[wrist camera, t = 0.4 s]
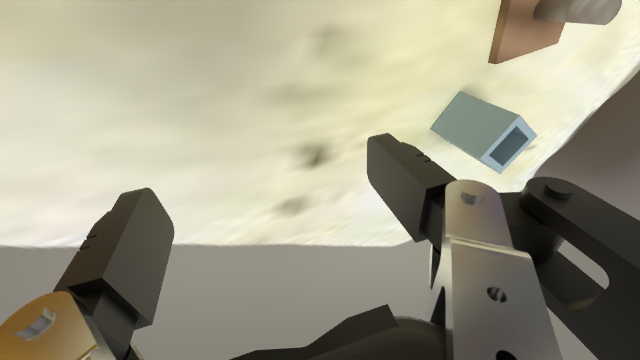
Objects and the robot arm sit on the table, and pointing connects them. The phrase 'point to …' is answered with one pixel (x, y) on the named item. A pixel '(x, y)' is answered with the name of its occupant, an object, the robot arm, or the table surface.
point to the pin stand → (543, 23)
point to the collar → (484, 131)
